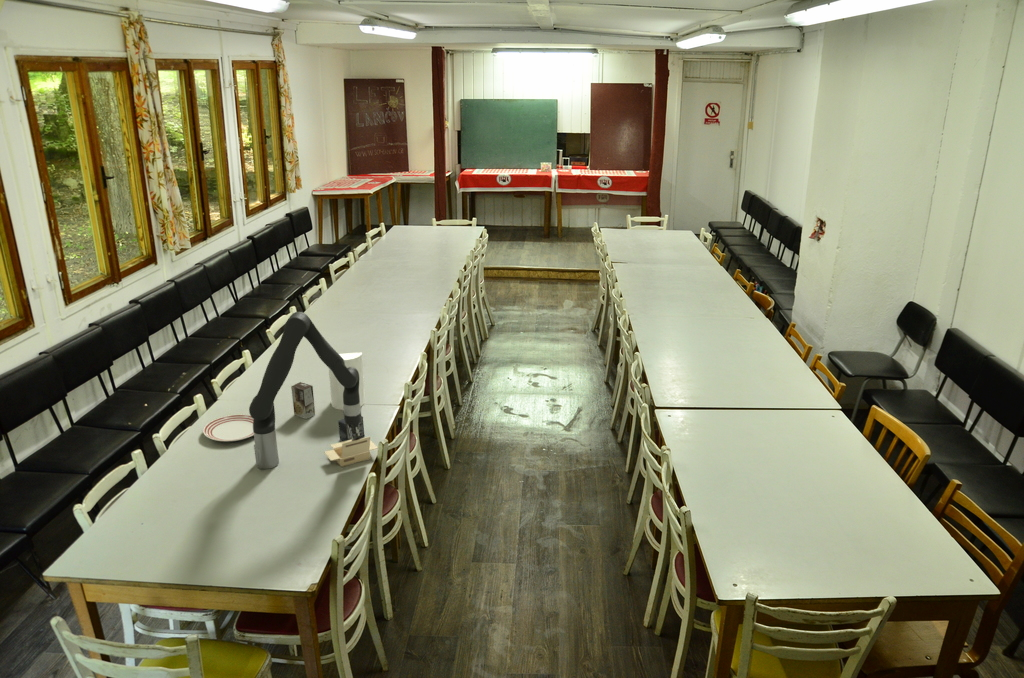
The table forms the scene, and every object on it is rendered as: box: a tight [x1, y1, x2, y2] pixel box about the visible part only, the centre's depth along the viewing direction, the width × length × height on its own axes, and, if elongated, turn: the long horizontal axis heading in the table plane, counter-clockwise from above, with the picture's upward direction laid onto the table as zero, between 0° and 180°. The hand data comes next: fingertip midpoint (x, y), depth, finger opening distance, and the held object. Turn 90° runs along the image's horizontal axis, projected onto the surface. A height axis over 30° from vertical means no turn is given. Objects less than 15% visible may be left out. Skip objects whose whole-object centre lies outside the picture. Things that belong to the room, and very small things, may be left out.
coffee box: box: [290, 381, 316, 420], centre depth 383 cm, size 9×6×16 cm
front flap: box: [342, 436, 371, 459], centre depth 338 cm, size 13×1×9 cm, turn 122°
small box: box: [337, 415, 365, 442], centre depth 363 cm, size 11×6×10 cm, turn 141°
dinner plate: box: [202, 413, 254, 443], centre depth 367 cm, size 27×27×3 cm
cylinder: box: [328, 352, 366, 411], centre depth 394 cm, size 17×17×28 cm
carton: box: [323, 439, 379, 468], centre depth 348 cm, size 22×14×4 cm, turn 122°
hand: (355, 446), depth 340 cm, fingers closed
